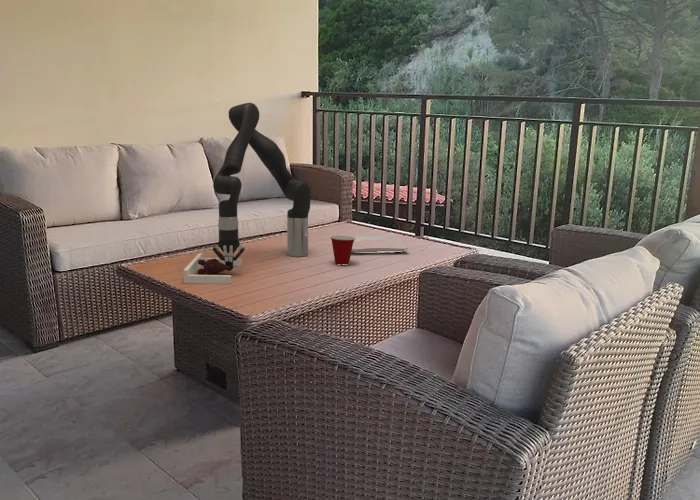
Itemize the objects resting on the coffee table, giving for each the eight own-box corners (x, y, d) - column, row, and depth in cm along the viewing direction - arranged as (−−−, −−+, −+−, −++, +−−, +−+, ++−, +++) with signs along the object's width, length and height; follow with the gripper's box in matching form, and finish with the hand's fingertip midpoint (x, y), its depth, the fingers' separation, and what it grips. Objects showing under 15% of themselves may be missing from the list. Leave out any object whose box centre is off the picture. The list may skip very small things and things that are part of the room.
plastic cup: (359, 262, 273) (359, 235, 270) (348, 268, 264) (349, 240, 261) (336, 259, 278) (337, 232, 275) (325, 264, 268) (325, 237, 265)
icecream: (235, 259, 248) (203, 258, 253) (225, 258, 241) (192, 257, 247) (235, 276, 248) (202, 275, 253) (225, 276, 241) (191, 275, 246)
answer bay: (241, 265, 263) (241, 253, 262) (231, 284, 237) (230, 271, 235) (199, 264, 263) (198, 253, 262) (183, 283, 236) (183, 270, 235)
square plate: (408, 255, 290) (408, 247, 289) (349, 256, 285) (349, 248, 284) (394, 242, 316) (394, 235, 315) (340, 243, 311) (340, 235, 310)
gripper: (246, 225, 249) (247, 268, 253) (213, 225, 249) (214, 267, 253) (244, 229, 242) (244, 273, 246) (209, 229, 242) (210, 272, 246)
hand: (229, 270), depth 250 cm, fingers closed
